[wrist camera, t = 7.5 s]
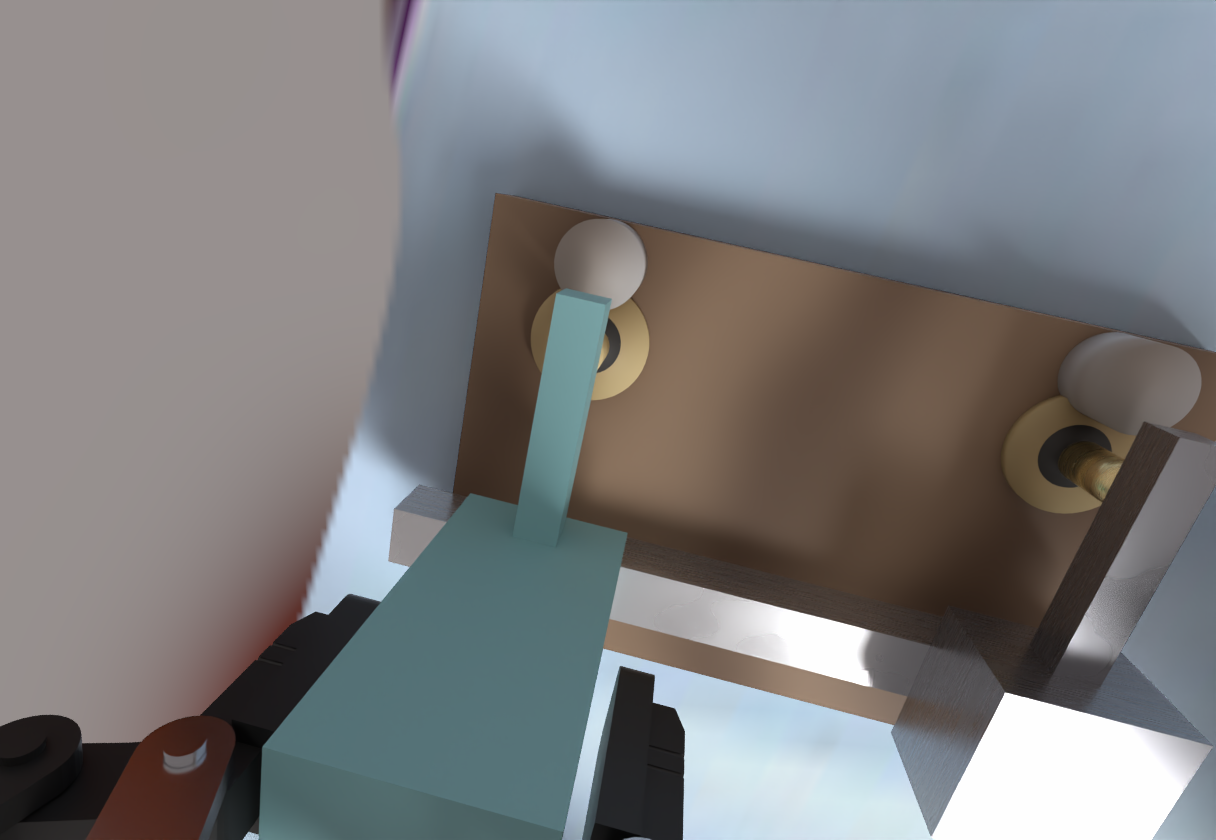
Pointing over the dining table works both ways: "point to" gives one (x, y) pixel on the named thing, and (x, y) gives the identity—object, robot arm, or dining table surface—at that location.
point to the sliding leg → (468, 656)
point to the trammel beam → (971, 655)
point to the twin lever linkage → (812, 424)
